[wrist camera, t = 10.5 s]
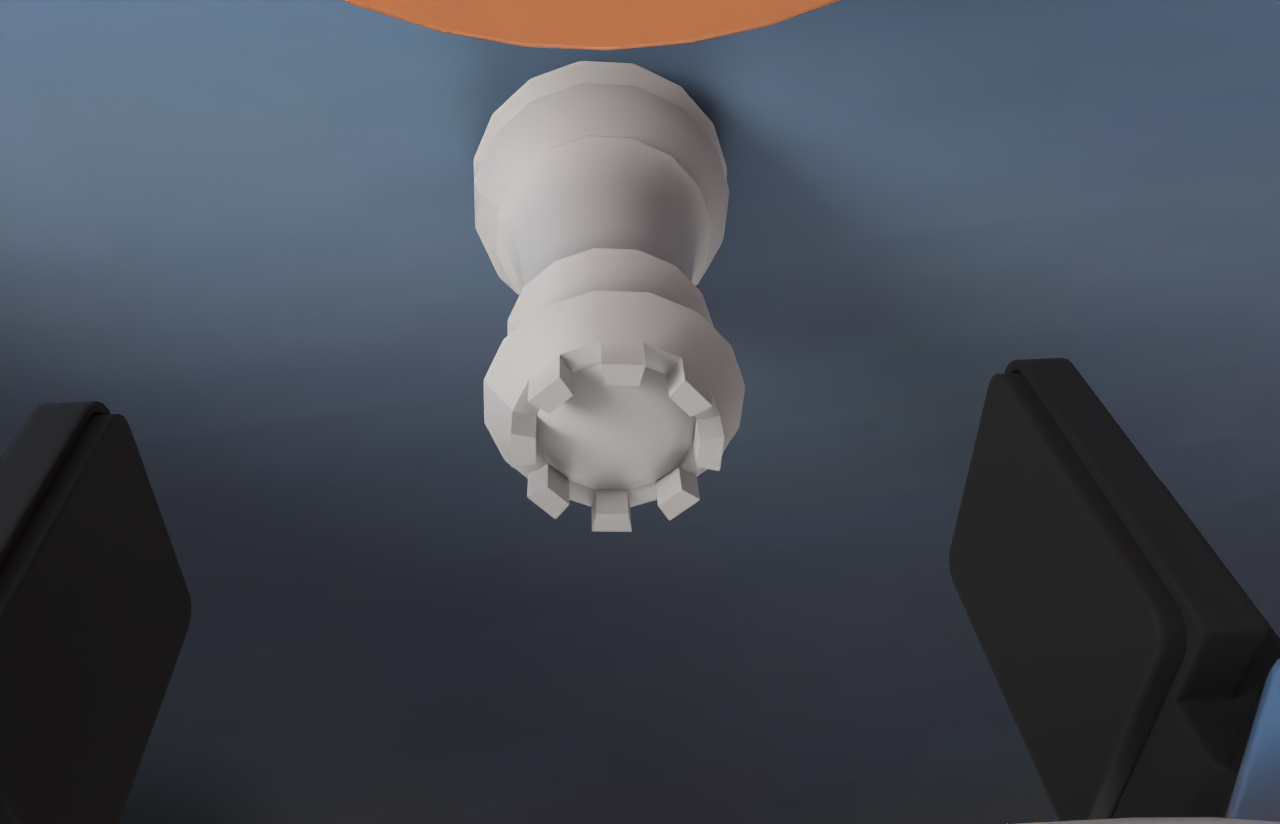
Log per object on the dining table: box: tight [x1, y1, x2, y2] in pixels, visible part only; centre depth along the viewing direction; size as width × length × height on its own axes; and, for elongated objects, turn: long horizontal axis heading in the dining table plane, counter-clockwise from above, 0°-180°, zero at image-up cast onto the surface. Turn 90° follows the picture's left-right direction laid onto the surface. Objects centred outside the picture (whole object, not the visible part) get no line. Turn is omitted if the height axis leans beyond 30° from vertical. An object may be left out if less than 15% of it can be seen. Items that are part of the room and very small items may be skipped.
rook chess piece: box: [474, 61, 745, 532], centre depth 16 cm, size 4×4×8 cm
